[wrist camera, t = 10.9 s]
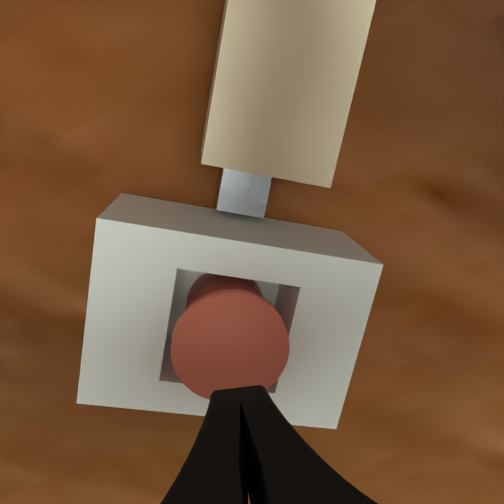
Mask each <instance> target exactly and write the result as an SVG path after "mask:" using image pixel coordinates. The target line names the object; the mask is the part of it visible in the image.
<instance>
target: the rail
mask: <svg viewBox="0 0 504 504" xmlns="http://www.w3.org/2000/svg"><path fill="white" fill-rule="evenodd" d="M271 181H272V177H269V176H263V175H258V174H253V173H247V172H242V171H237V170H231V169H226V168H221V173H220V179H219V184H218V190H217V195H216V201H215V205H216V210H219V211H225V212H231V213H236V214H242V215H248V216H254V217H260V218H264V214H265V209H266V205H267V200H268V195H269V190H270V185H271Z"/></svg>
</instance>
